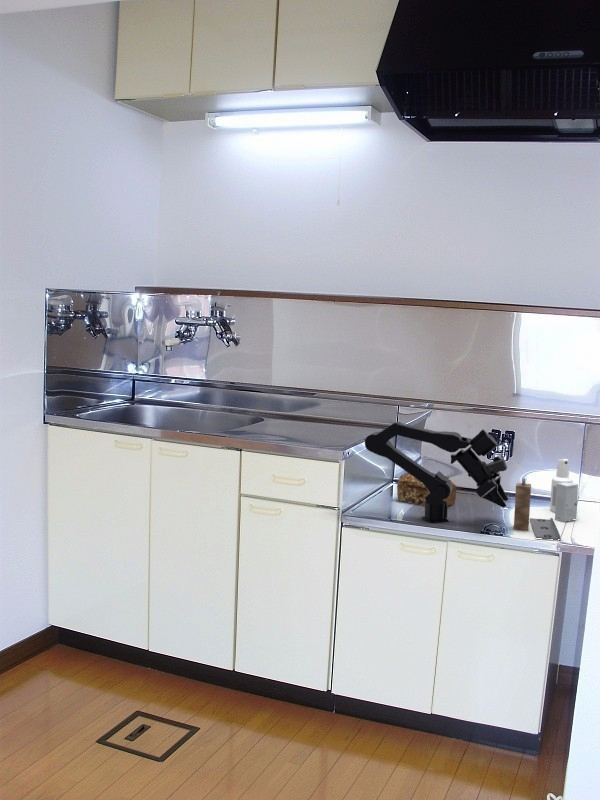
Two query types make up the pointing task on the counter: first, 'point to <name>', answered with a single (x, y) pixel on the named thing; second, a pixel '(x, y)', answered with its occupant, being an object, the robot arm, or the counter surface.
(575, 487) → the skincare box
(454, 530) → the counter surface
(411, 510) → the counter surface
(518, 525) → the post
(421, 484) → the bread
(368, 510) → the counter surface
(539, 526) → the flange strip
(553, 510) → the spray bottle
